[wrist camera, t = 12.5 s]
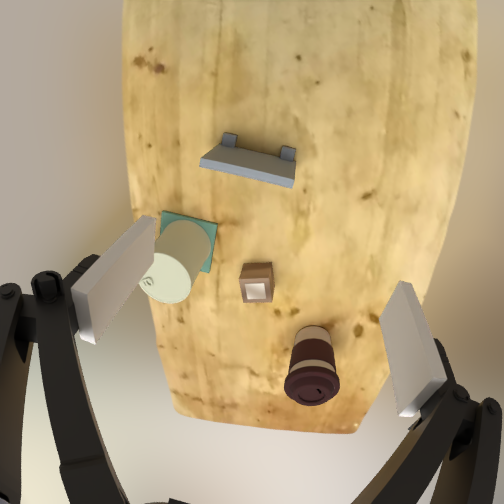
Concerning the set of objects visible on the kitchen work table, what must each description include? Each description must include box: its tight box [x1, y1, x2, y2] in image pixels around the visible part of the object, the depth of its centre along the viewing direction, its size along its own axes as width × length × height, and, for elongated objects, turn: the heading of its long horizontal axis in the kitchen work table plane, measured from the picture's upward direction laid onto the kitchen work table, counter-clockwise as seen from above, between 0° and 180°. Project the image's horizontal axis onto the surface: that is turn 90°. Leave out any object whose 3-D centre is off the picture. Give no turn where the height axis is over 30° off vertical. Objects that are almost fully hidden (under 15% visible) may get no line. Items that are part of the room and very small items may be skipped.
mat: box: [160, 211, 218, 273], centre depth 57 cm, size 10×10×1 cm
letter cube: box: [239, 262, 275, 303], centre depth 56 cm, size 5×5×5 cm
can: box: [139, 220, 211, 303], centre depth 52 cm, size 9×9×12 cm
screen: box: [199, 133, 296, 189], centre depth 44 cm, size 5×12×10 cm, turn 79°
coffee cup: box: [284, 326, 340, 406], centre depth 58 cm, size 10×10×15 cm
